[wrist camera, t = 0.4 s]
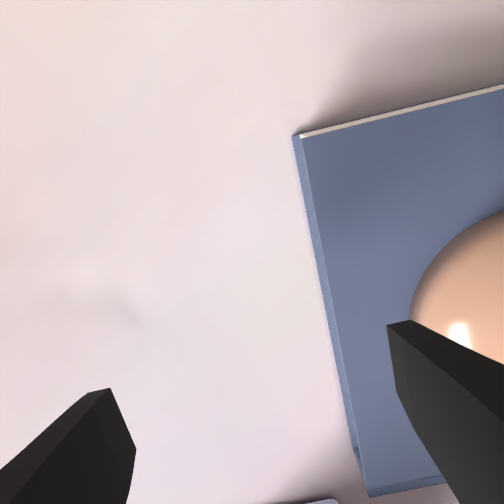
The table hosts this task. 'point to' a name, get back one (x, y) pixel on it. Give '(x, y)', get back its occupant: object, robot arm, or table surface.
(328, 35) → the table surface
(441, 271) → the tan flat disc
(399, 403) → the book
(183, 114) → the table surface
